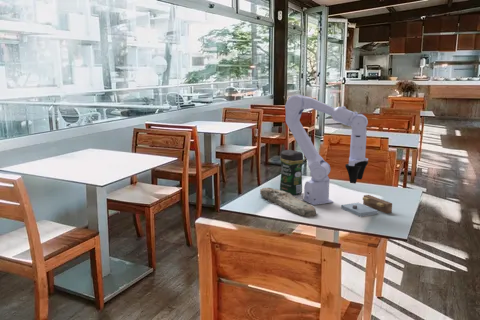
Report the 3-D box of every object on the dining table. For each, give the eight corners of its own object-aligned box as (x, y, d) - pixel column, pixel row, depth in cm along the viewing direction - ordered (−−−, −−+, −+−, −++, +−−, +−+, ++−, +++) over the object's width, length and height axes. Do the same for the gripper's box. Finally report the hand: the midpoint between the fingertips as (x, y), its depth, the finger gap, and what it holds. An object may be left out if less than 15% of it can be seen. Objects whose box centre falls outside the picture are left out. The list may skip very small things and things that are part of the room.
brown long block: (383, 213, 159) (383, 204, 158) (360, 204, 170) (360, 195, 170) (391, 212, 160) (392, 203, 160) (368, 203, 172) (368, 194, 171)
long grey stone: (300, 223, 154) (322, 220, 158) (301, 209, 153) (324, 206, 157) (253, 194, 184) (273, 192, 188) (254, 182, 183) (274, 180, 187)
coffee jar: (276, 191, 189) (277, 149, 186) (290, 188, 194) (291, 147, 190) (291, 196, 181) (292, 152, 178) (305, 193, 186) (306, 151, 182)
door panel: (359, 218, 156) (360, 210, 155) (341, 209, 166) (341, 202, 165) (377, 215, 159) (377, 207, 159) (358, 207, 169) (358, 200, 168)
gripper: (362, 150, 157) (360, 186, 160) (373, 144, 169) (371, 178, 172) (344, 148, 161) (342, 183, 163) (355, 143, 173) (354, 176, 176)
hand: (356, 181), depth 168 cm, fingers open, 7 cm apart
